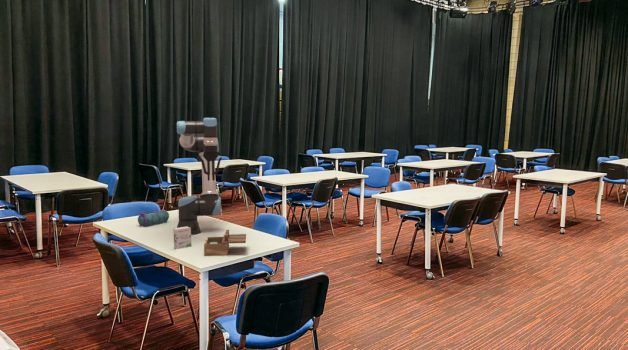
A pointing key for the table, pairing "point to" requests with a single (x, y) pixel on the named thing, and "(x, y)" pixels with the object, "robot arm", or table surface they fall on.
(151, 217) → the pencil case
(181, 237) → the ink box
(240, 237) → the lid
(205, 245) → the oak box
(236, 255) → the table surface
